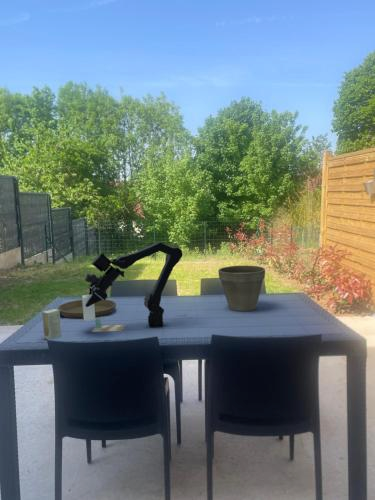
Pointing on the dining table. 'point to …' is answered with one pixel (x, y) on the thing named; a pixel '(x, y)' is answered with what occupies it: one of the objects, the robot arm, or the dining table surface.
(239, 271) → the plant pot
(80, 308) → the plant saucer
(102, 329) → the board
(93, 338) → the dining table surface
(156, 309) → the robot arm
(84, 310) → the tall white cuboid
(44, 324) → the skincare box
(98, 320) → the pale teal block
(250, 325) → the dining table surface
